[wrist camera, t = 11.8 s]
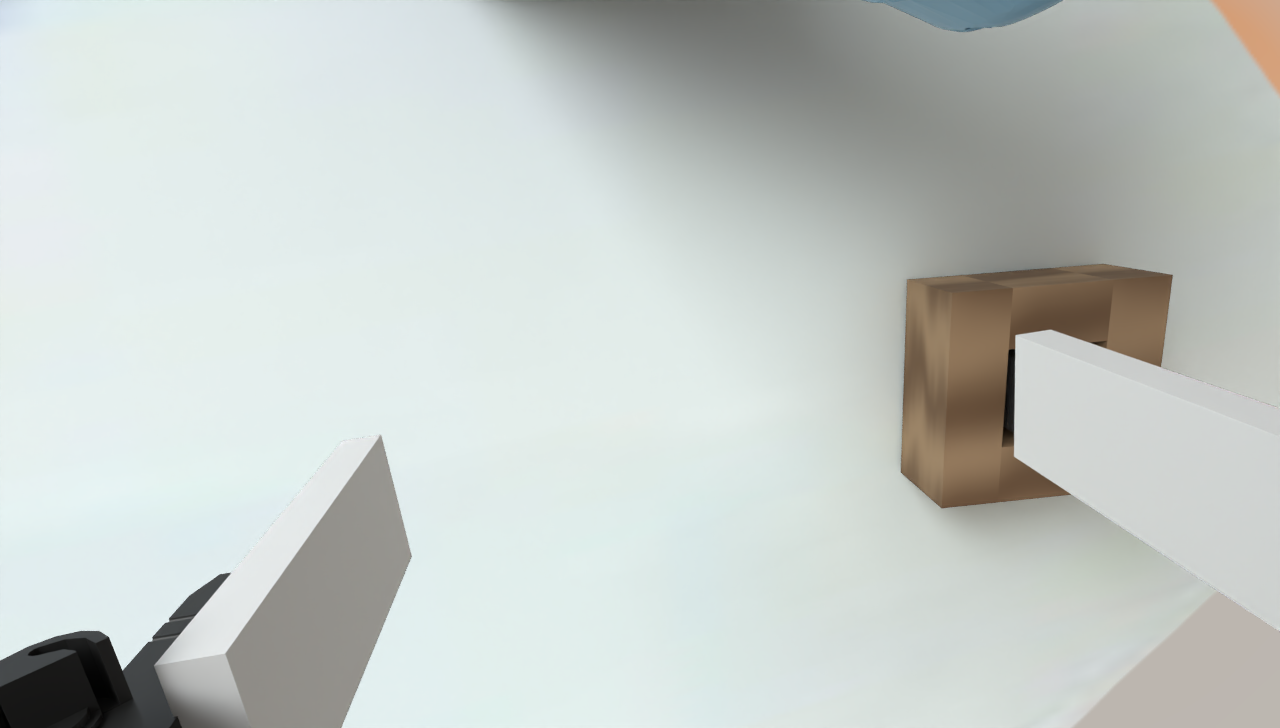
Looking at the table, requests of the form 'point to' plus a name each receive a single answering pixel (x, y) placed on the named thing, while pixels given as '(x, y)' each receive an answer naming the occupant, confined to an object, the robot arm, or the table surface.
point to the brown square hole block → (1005, 365)
